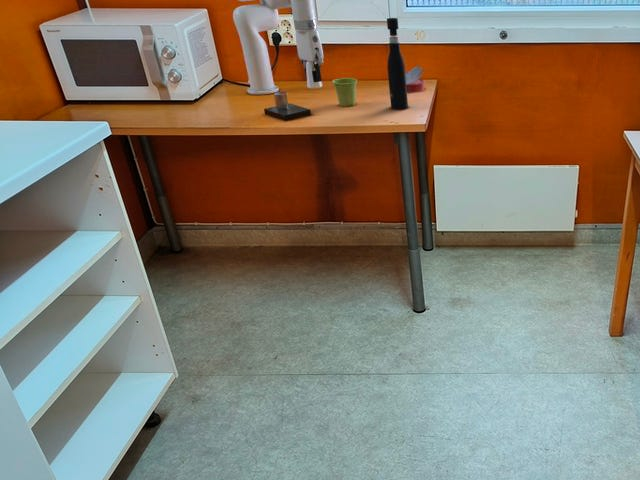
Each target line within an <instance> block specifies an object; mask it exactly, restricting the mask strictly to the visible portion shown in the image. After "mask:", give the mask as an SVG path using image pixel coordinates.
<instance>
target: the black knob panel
mask: <svg viewBox="0 0 640 480" xmlns="http://www.w3.org/2000/svg"><path fill="white" fill-rule="evenodd" d="M288 106H289V107H288V108H286V109H277V108H276V105H275V106H270V107H265V108H263V112H264V115H265V116H268V117H272V118H275V119H278V120H281V121H284V122H288V121H292V120H296V119H300V118H304V117H305V118H306V117H309V116H312V110H311V109H310V108H307V107H303V106H300V105H297V104H293V103H290V102H288Z"/></svg>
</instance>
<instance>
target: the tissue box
mask: <svg viewBox="0 0 640 480" xmlns="http://www.w3.org/2000/svg"><path fill="white" fill-rule="evenodd" d="M422 68H423V67H421V66H416V67H413V68H411V69H409V70H408V71H407V72H405V74H406V87H407V93H418V92H422V91H424V90H425V81H424V80H423V79H420V78H421V76H422V73H423V69H422Z"/></svg>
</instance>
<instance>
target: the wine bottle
mask: <svg viewBox="0 0 640 480" xmlns="http://www.w3.org/2000/svg"><path fill="white" fill-rule="evenodd" d="M386 26H387V30H388V31H389V38H388V39H389V43H388V47H389V53H388V58H387V78H388V88H389V100H390V108H391V110H394V111H403V110H407V109H408V108H409V103H408V92H407V87H406V65H405V61H404V57H403V55H402V53H401V49H400V48H401V46H400V42H399V41H400V40H399V37H398V30H399V19H398V17H388V18H386Z"/></svg>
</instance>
